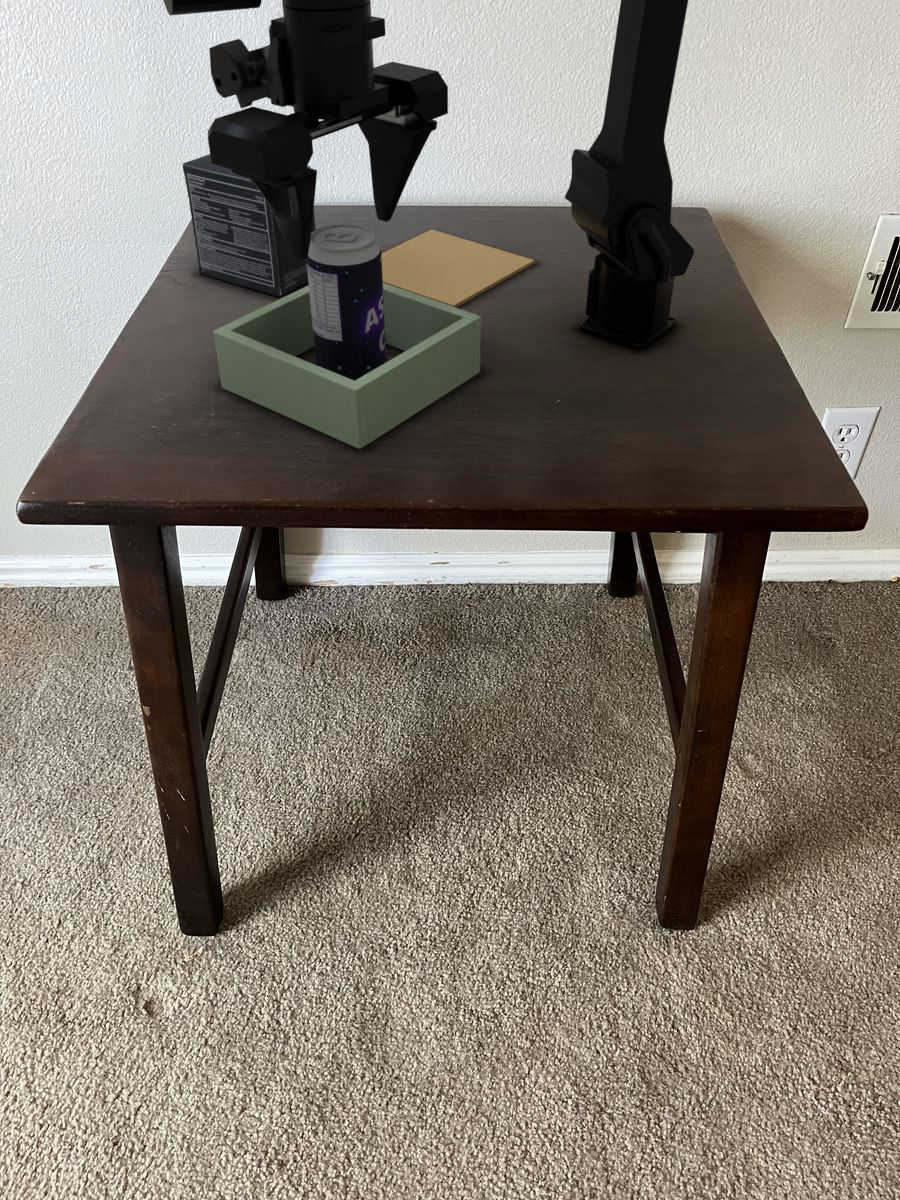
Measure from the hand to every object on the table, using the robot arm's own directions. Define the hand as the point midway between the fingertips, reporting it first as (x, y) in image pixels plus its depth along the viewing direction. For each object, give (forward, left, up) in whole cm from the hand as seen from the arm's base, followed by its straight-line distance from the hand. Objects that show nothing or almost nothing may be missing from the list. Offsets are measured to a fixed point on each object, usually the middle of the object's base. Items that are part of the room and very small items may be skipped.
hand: (343, 238), depth 78 cm
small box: (+21, -10, -12) cm, 26 cm away
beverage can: (0, 0, -12) cm, 12 cm away
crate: (0, 0, -12) cm, 12 cm away
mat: (+8, -22, -12) cm, 26 cm away
